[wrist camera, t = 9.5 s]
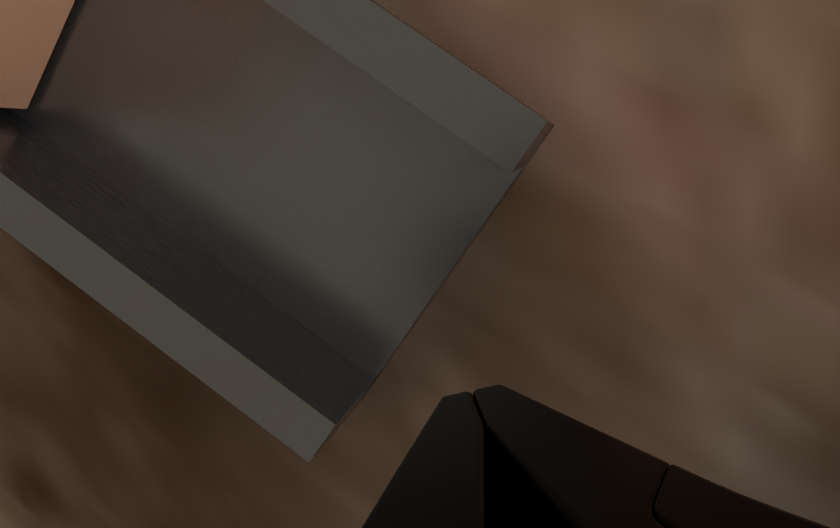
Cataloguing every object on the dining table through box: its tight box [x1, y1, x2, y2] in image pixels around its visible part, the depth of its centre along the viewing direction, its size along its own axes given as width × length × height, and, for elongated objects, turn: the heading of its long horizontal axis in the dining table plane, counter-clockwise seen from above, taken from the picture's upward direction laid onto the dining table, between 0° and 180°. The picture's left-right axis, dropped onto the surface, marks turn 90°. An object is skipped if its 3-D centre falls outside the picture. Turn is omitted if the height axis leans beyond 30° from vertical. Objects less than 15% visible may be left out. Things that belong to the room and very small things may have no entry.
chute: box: [0, 0, 554, 462], centre depth 17 cm, size 20×9×4 cm, turn 56°
